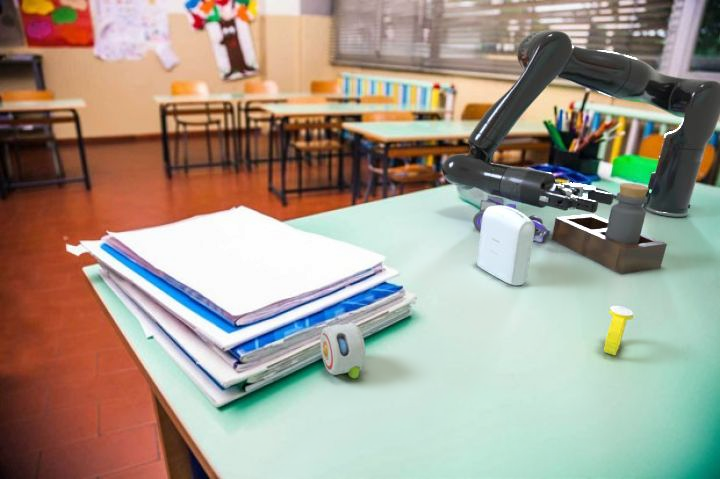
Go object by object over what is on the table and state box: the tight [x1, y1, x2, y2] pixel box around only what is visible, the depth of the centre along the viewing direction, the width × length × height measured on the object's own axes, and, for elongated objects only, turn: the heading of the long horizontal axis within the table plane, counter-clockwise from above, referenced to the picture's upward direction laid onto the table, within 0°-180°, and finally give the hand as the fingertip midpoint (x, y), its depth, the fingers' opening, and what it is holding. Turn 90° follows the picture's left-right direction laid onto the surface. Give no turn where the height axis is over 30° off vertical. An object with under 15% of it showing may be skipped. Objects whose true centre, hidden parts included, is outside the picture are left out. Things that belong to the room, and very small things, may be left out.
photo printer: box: [476, 205, 536, 286], centre depth 86 cm, size 10×4×12 cm, turn 26°
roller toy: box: [319, 322, 367, 379], centre depth 59 cm, size 4×6×6 cm
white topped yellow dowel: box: [603, 305, 634, 356], centre depth 65 cm, size 6×3×6 cm, turn 144°
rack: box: [551, 213, 668, 275], centre depth 99 cm, size 18×10×5 cm, turn 21°
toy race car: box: [472, 195, 551, 243], centre depth 109 cm, size 10×15×6 cm, turn 57°
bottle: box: [605, 182, 649, 245], centre depth 94 cm, size 6×6×15 cm
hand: (605, 203), depth 95 cm, fingers open, 8 cm apart
